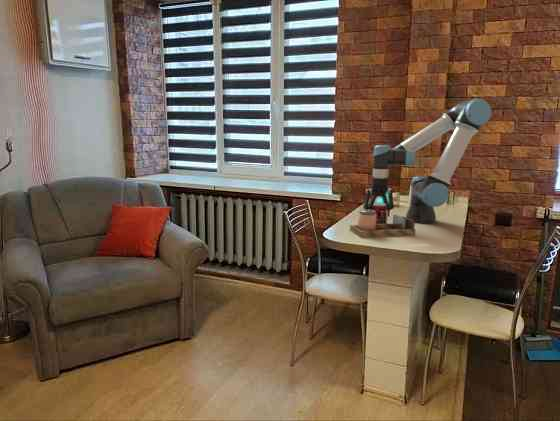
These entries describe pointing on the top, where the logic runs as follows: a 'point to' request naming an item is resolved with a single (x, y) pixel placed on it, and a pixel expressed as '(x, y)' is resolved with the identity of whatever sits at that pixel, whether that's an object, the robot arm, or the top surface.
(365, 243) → the top surface
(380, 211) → the canned food
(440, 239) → the top surface
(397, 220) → the bar
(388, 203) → the donuts
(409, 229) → the wooden box
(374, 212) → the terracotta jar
